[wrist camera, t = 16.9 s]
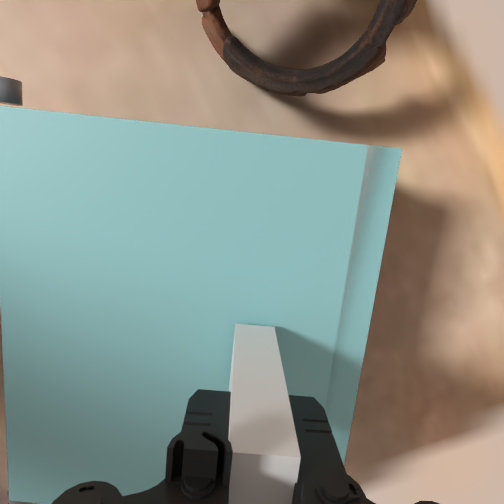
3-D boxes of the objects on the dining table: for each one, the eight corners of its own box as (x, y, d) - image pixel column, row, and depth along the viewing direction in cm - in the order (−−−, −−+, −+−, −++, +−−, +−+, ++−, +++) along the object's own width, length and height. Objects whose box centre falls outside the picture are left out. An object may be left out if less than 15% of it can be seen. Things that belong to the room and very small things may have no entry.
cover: (20, 485, 17) (9, 500, 16) (6, 108, 14) (-9, 104, 13) (328, 515, 17) (331, 532, 16) (394, 150, 14) (402, 148, 13)
